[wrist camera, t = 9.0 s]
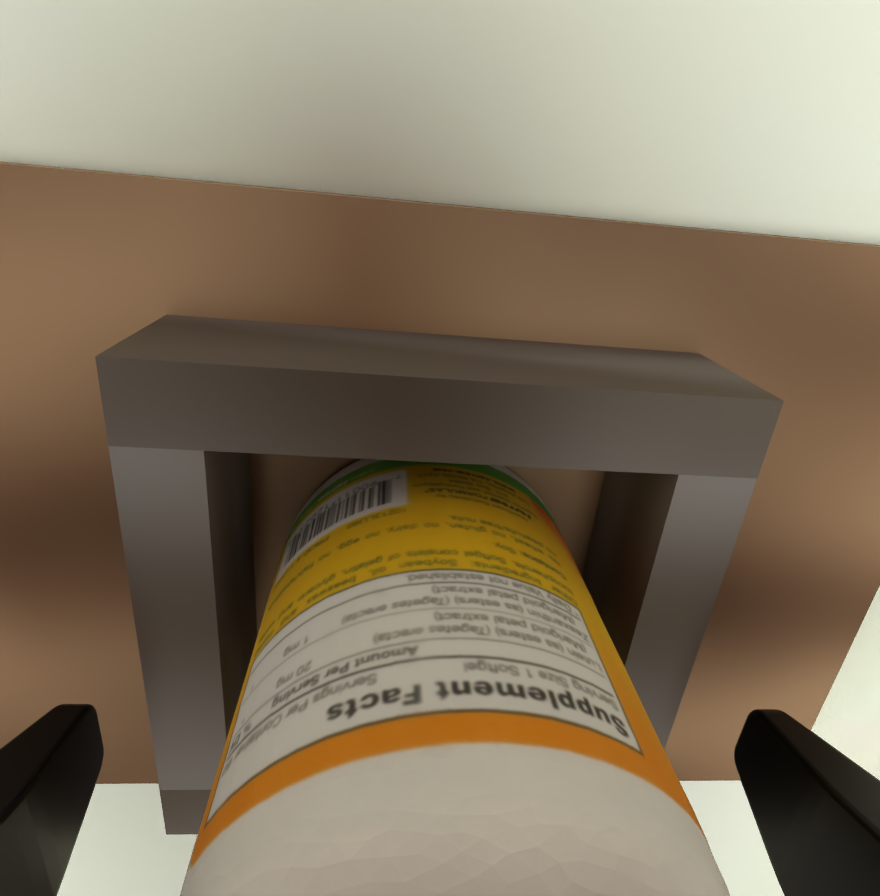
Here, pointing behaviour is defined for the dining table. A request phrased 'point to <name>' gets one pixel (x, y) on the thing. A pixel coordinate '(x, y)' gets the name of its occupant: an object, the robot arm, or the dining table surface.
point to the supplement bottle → (440, 712)
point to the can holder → (418, 439)
